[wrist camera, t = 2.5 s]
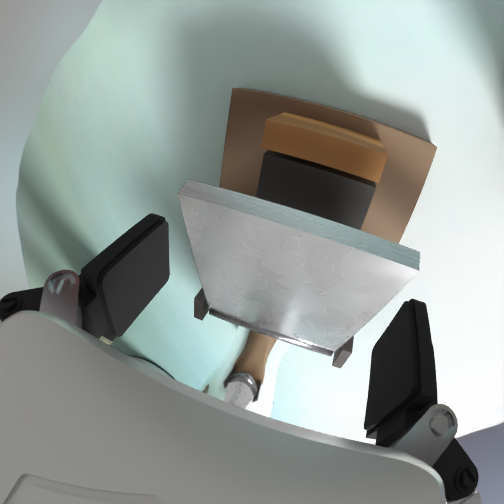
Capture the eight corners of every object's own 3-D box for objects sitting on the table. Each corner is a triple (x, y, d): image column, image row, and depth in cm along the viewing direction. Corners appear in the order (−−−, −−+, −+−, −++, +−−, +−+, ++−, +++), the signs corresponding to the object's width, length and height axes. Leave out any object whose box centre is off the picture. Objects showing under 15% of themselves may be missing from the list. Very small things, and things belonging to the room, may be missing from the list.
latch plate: (346, 329, 27) (339, 376, 23) (215, 284, 30) (189, 323, 25) (431, 143, 16) (457, 164, 11) (240, 87, 18) (202, 91, 14)
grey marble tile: (334, 341, 24) (329, 358, 23) (216, 301, 26) (209, 316, 25) (419, 246, 11) (418, 276, 10) (191, 175, 13) (174, 198, 12)
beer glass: (226, 311, 31) (158, 427, 19) (286, 309, 28) (231, 449, 16) (247, 352, 34) (196, 459, 22) (301, 353, 31) (261, 476, 19)
